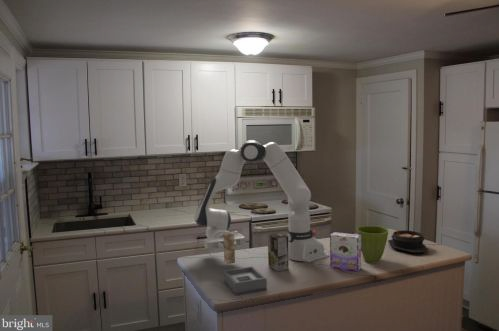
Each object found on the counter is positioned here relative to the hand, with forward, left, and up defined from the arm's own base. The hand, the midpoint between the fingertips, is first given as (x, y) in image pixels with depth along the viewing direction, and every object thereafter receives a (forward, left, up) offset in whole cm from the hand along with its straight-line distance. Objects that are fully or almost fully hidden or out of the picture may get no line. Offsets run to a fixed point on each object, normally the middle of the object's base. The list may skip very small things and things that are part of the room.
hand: (229, 246), depth 195 cm
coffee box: (-23, +5, -12) cm, 27 cm away
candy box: (-52, +19, -12) cm, 57 cm away
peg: (0, -1, -8) cm, 8 cm away
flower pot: (-70, +16, -12) cm, 73 cm away
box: (0, +19, -12) cm, 23 cm away
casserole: (-99, +8, -13) cm, 101 cm away
